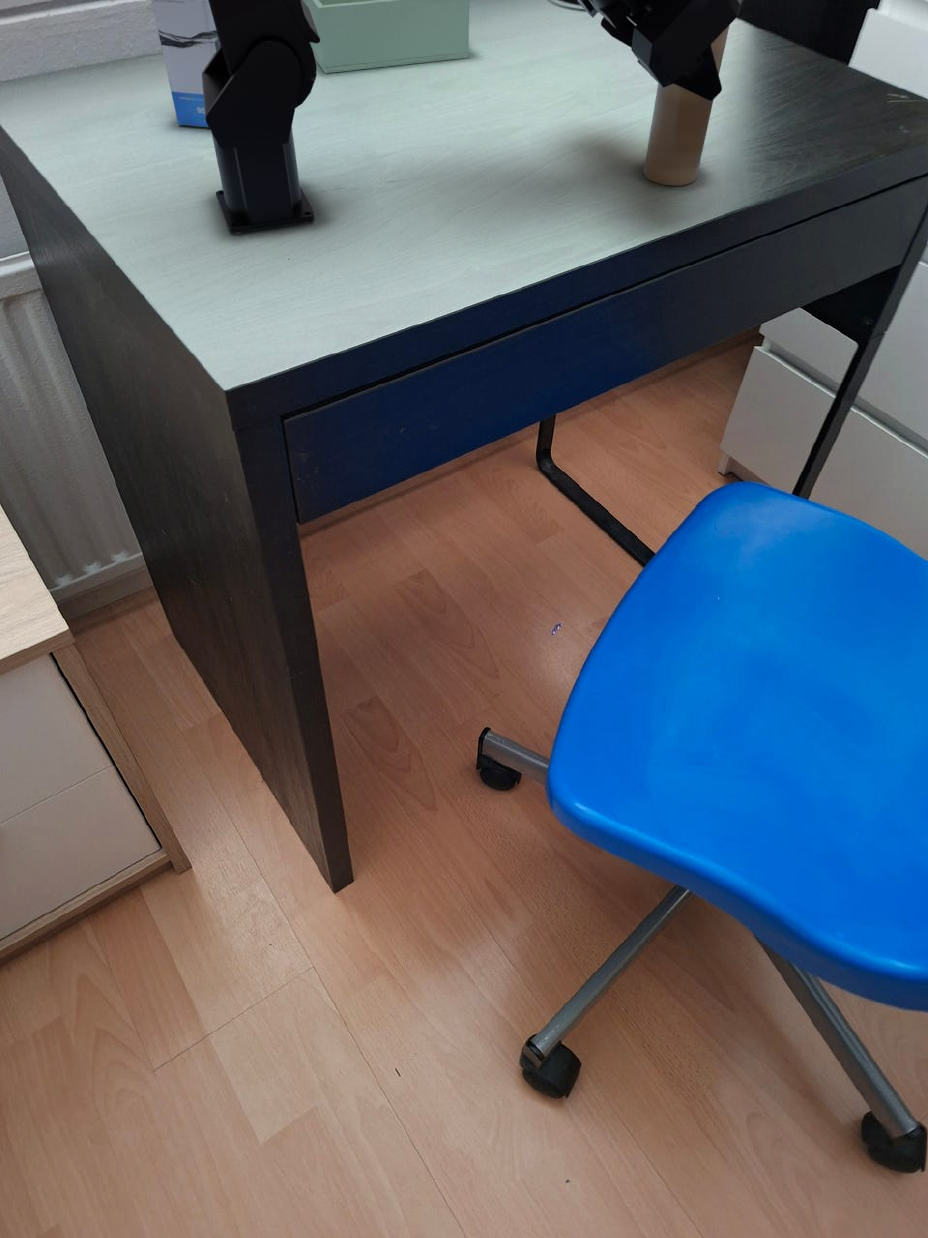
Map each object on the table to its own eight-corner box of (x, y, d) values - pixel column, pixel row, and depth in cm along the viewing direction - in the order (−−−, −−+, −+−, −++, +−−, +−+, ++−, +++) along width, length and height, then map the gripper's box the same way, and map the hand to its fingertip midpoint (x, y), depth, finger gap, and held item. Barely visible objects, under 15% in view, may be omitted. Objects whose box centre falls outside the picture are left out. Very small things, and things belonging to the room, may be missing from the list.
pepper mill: (706, 181, 69) (756, -39, 58) (658, 189, 68) (700, -34, 57) (680, 160, 72) (722, -55, 61) (634, 166, 71) (668, -51, 60)
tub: (468, 57, 87) (469, -7, 83) (325, 73, 84) (318, 7, 80) (423, 13, 97) (422, -47, 92) (292, 26, 93) (284, -36, 89)
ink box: (228, 131, 75) (198, -34, 66) (176, 126, 75) (138, -38, 66) (262, 96, 80) (238, -61, 71) (212, 91, 81) (182, -65, 72)
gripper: (751, -196, 46) (860, 32, 56) (633, -238, 57) (740, -44, 68) (594, -12, 51) (720, 166, 61) (514, -85, 62) (631, 75, 72)
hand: (704, 83), depth 65 cm, fingers closed on pepper mill, 4 cm apart
